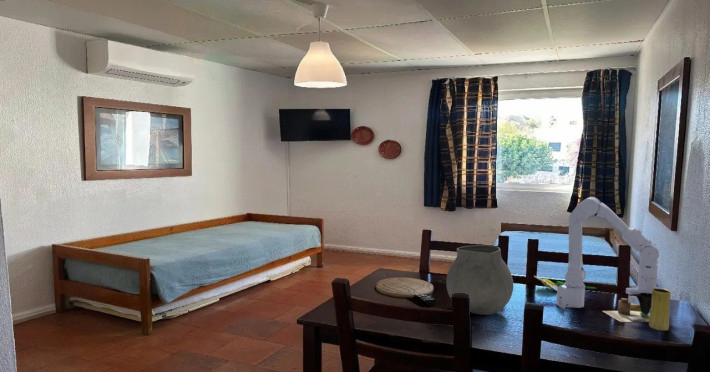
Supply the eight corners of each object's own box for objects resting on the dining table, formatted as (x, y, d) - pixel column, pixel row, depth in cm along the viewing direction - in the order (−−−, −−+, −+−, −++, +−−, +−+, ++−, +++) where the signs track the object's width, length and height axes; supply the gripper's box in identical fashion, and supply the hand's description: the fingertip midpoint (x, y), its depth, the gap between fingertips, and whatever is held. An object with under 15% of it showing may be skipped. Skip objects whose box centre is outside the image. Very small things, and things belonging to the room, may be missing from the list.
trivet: (402, 278, 222) (402, 274, 222) (445, 290, 204) (445, 286, 204) (364, 288, 205) (364, 284, 205) (407, 303, 187) (407, 298, 187)
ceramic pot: (467, 297, 195) (470, 238, 193) (523, 312, 178) (526, 247, 175) (432, 310, 178) (435, 246, 176) (490, 329, 160) (493, 257, 158)
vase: (644, 327, 165) (646, 287, 164) (660, 327, 166) (663, 287, 164) (656, 334, 159) (659, 293, 158) (673, 333, 159) (676, 293, 158)
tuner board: (620, 325, 167) (620, 319, 166) (601, 314, 178) (602, 308, 177) (662, 324, 168) (663, 319, 168) (641, 313, 179) (642, 308, 179)
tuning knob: (619, 313, 174) (620, 300, 174) (616, 310, 178) (617, 296, 178) (648, 316, 172) (649, 303, 171) (644, 313, 175) (645, 299, 175)
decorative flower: (584, 289, 217) (526, 283, 211) (587, 279, 216) (528, 272, 211) (603, 299, 204) (542, 293, 199) (606, 289, 204) (544, 282, 198)
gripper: (635, 280, 166) (633, 317, 167) (674, 279, 167) (671, 316, 168) (623, 274, 173) (620, 310, 174) (660, 274, 174) (657, 310, 175)
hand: (644, 313), depth 171 cm, fingers closed
